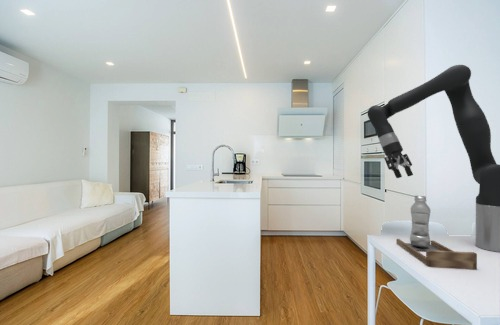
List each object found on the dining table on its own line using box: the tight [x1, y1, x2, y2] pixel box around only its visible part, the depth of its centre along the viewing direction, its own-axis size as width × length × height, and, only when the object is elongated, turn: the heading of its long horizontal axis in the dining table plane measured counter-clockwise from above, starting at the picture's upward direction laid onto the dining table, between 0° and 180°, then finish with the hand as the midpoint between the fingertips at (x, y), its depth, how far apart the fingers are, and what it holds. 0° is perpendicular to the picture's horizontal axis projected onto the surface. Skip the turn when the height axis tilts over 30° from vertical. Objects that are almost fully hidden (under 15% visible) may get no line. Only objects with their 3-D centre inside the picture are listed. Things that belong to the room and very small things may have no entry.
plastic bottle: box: [409, 195, 431, 248], centre depth 94 cm, size 6×7×20 cm
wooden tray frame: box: [396, 238, 478, 270], centre depth 87 cm, size 14×22×5 cm, turn 172°
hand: (405, 176), depth 107 cm, fingers open, 8 cm apart
